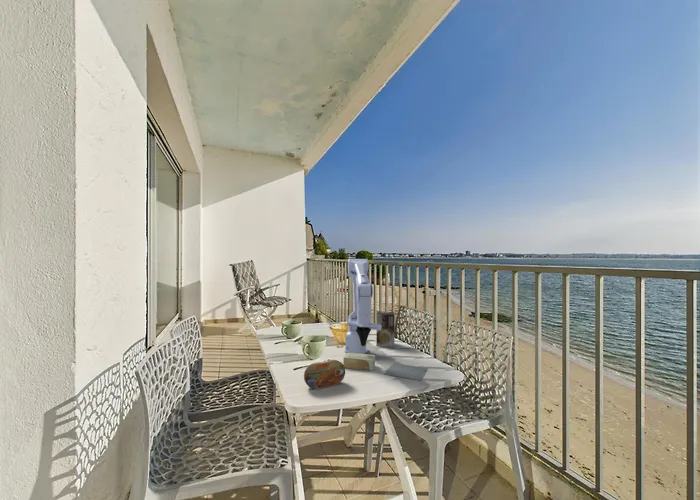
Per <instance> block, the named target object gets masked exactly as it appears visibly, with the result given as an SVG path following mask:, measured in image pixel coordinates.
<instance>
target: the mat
mask: <svg viewBox="0 0 700 500" xmlns="http://www.w3.org/2000/svg"><path fill="white" fill-rule="evenodd" d="M427 370H428V368H427V367H424V366H423V367H421V366H416V365H409V364H403V363H398V362H392V363H391V365H390V366H389V367H388V368H387V369H386V371H385V372H384V374H383V375H385V376H389V377H390V376H391V377H396V378H401V379H402V378H403V379H407V380H413V381H419V382H421V381H422V380H423V377H424V376H425V373H426V371H427Z"/></svg>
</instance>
